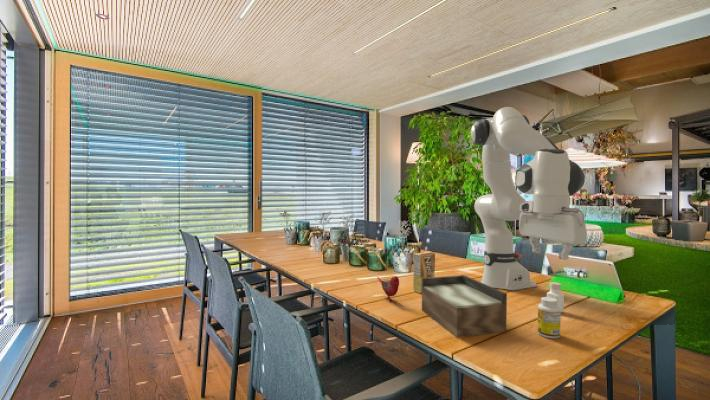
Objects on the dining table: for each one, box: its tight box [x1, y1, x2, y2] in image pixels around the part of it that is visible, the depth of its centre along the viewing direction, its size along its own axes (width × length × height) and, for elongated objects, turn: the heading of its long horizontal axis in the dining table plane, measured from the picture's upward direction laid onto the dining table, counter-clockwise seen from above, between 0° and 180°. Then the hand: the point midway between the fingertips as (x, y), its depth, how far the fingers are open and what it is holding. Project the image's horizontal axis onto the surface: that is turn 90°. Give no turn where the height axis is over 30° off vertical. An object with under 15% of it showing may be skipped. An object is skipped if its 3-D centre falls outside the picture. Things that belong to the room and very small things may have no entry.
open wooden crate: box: [421, 274, 508, 338], centre depth 107 cm, size 16×22×11 cm
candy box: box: [412, 251, 436, 294], centre depth 139 cm, size 9×4×15 cm, turn 129°
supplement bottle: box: [537, 296, 562, 339], centre depth 96 cm, size 6×6×10 cm
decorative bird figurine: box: [377, 275, 400, 302], centre depth 128 cm, size 3×18×10 cm, turn 22°
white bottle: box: [546, 281, 565, 313], centre depth 115 cm, size 4×4×10 cm
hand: (549, 256), depth 96 cm, fingers open, 8 cm apart
